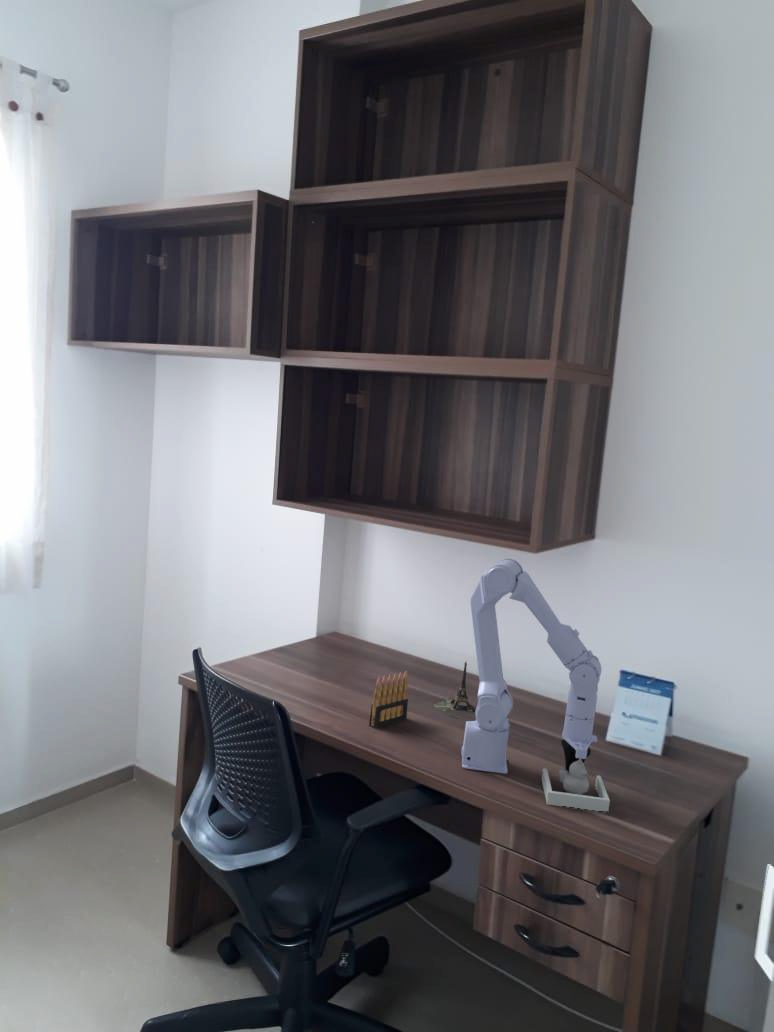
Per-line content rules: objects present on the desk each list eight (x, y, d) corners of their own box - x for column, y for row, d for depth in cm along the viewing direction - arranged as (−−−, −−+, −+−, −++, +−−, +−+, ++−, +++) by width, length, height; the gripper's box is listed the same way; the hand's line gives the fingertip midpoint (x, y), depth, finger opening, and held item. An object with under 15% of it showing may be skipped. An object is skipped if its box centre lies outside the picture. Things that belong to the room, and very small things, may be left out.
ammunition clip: (401, 716, 196) (406, 668, 194) (406, 719, 195) (411, 671, 193) (368, 725, 188) (373, 676, 187) (374, 728, 187) (379, 678, 185)
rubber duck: (580, 802, 160) (585, 764, 159) (550, 789, 165) (555, 752, 164) (593, 794, 164) (598, 757, 163) (564, 782, 169) (569, 745, 168)
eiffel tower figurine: (461, 696, 216) (466, 647, 214) (492, 708, 209) (498, 658, 207) (425, 708, 204) (431, 657, 203) (457, 721, 198) (463, 668, 196)
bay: (546, 804, 158) (548, 792, 158) (541, 779, 169) (543, 768, 169) (608, 812, 157) (609, 800, 157) (598, 787, 168) (600, 775, 168)
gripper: (606, 730, 158) (596, 796, 160) (594, 704, 173) (585, 764, 175) (569, 726, 159) (560, 791, 161) (560, 700, 173) (552, 760, 175)
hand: (571, 777), depth 168 cm, fingers closed
